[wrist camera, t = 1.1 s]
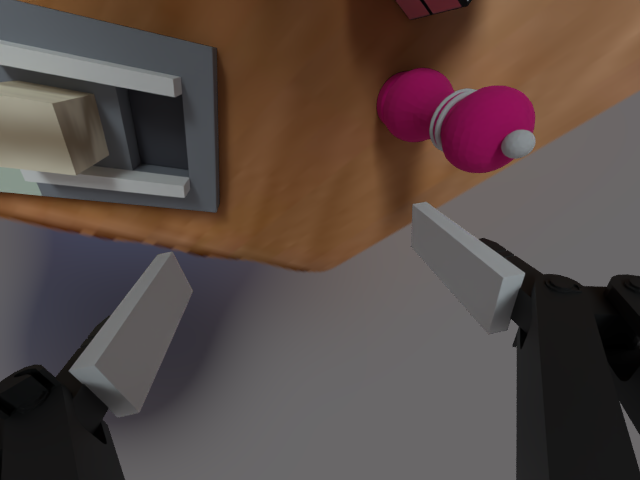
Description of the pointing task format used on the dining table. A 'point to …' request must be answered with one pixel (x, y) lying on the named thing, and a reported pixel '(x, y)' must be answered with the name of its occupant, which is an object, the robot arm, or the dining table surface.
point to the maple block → (49, 129)
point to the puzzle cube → (429, 7)
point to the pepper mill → (458, 119)
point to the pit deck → (121, 107)
